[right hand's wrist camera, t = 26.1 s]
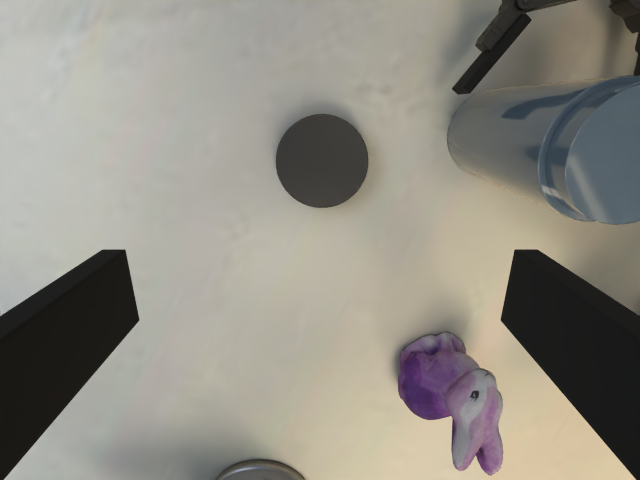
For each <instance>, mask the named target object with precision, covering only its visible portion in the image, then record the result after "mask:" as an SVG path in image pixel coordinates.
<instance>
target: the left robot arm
mask: <svg viewBox="0 0 640 480" xmlns="http://www.w3.org/2000/svg"><path fill="white" fill-rule="evenodd" d="M572 1H576V0H502V5H501V6H500V8H499V13H498V14H497V16H496V17H495V18H494V19H493V21H492V22H491V23H490V24H489V26H488V27H487V28H486V29H485V30H484V32H483V33H482V34H481V35H480V37H479V38H478V40H477V42H476V45H475V46H476V47H477V48H478V49H479V50H480V51H481V52H482V53H481V54H480V55H479V56H478V58H477V59H476V60H475V61H474V63H473V64H472V65H471V66H470V67H469V69H468V70H467V71H466V72H465V73H464V75H463V76H462V77H461V78H460V80H459V81H458V82H457V83H456V84H455V86H454V87H453V88H452V90H454V91H455V92H456V93H457V94H470V93H471V92H472V90H473V89H474V88H475V87H476V86H477V84H478V83H479V82H480V81H481V80H482V79H483V77H484V76H485V75H486V74H487V73H488V71H489V70H490V69H491V68H492V67H493V65H494V64H495V63H496V62H497V61H498V60H499V58H500V57H501V56H502V55H503V54H504V52H505V51H506V50H507V49H508V48H509V46H510V45H511V44H512V43H513V42H514V41H515V39H516V38H517V37H518V36H519V35H520V33H521V32H522V31H523V30H524V29H525V28H526V26H527V25H528V24H529V23H530V22H531V20H532V19H531V18H530V17H529V16H528V15H527V14H526V13H527V12H531V11H535V10H539V9H543V8H547V7H551V6H555V5H559V4H564V3H568V2H572ZM611 3H612V4H611V5H610V6H609V8H610V9H611V10H612V11H613V12H614V13H615V14H617V15H618V16H620V17H622V18H623V19H624V22H625V24H626V27H627V28H628V29H629V30H630V31H631V32H632V33H636V32H638V37H637V41H636V46H635V50H636V52H638V57H637V62H636V66H635V70H634V75H633V76H640V0H611ZM523 13H524V14H523Z"/></svg>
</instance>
